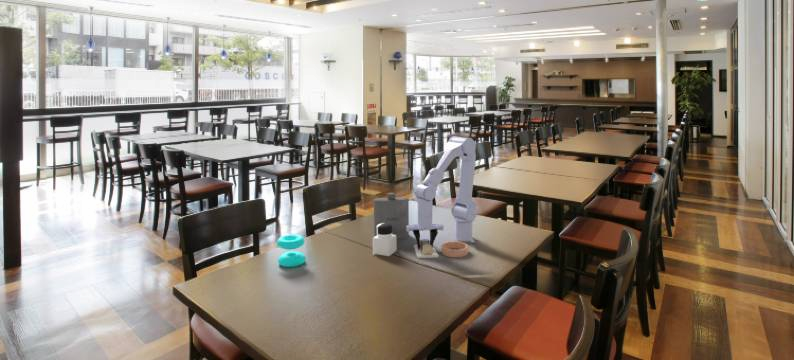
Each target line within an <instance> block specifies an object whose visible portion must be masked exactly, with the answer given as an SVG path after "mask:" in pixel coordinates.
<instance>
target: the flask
mask: <svg viewBox="0 0 794 360" xmlns="http://www.w3.org/2000/svg"><path fill="white" fill-rule="evenodd" d="M409 209H410V208H409V198H408V197H406V196H398V197H397V196H396V193H395V192H388V193H387V195H386V197H377V198H374V199H373V229H374V230H373V231H374V232H373V233H374V235H373V238H374V237H375V236H377V225H378V224H381V223H388V224H391V225H392V235H396V240H397V239H405V238H408V237H409V235H410V233H409V232H410V231H409V232H407V230H406V226H407V225H409V224H410V223H409V221H410V219H409V216H410V215H409V212H410V211H409Z"/></svg>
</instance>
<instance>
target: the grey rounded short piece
mask: <svg viewBox="0 0 794 360" xmlns="http://www.w3.org/2000/svg"><path fill="white" fill-rule="evenodd" d="M425 244H430V239H426V238H423V239H420V250H422V246H423V245H425Z"/></svg>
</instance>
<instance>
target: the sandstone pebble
mask: <svg viewBox="0 0 794 360" xmlns="http://www.w3.org/2000/svg"><path fill="white" fill-rule="evenodd" d="M422 255H432V245H430V244H425V245H423V246H422Z"/></svg>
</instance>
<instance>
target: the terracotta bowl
mask: <svg viewBox="0 0 794 360" xmlns="http://www.w3.org/2000/svg"><path fill="white" fill-rule="evenodd" d="M440 246H441V248H440V251H441V253H442V255H444V256H446V257H451V258H462V257H465V256H467V255H468V253H469V245H468V244H467V243H465V242H463V241H457V240H456V241H455V240H454V241H453V240H452V241H445V242H443V243H442V244H441V245H440Z"/></svg>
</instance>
